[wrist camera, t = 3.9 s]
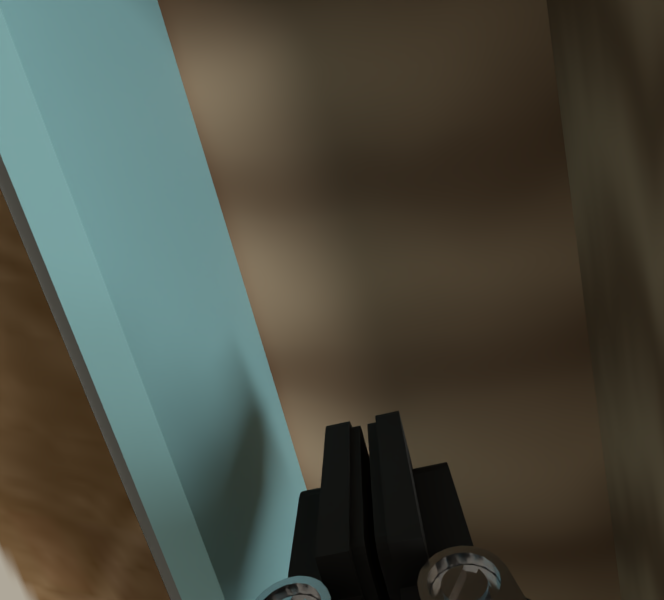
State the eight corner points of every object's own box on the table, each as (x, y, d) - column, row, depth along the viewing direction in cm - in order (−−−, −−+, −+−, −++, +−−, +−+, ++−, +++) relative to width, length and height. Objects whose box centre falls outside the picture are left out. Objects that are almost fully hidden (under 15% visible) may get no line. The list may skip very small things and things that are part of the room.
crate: (137, -29, 16) (-158, -273, 7) (544, -153, 14) (873, -661, 5) (347, 648, 23) (346, 986, 14) (632, 601, 22) (841, 936, 12)
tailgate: (108, 9, 14) (-171, -149, 7) (156, -6, 14) (-73, -185, 7) (325, 668, 21) (310, 976, 13) (359, 662, 21) (365, 970, 13)
